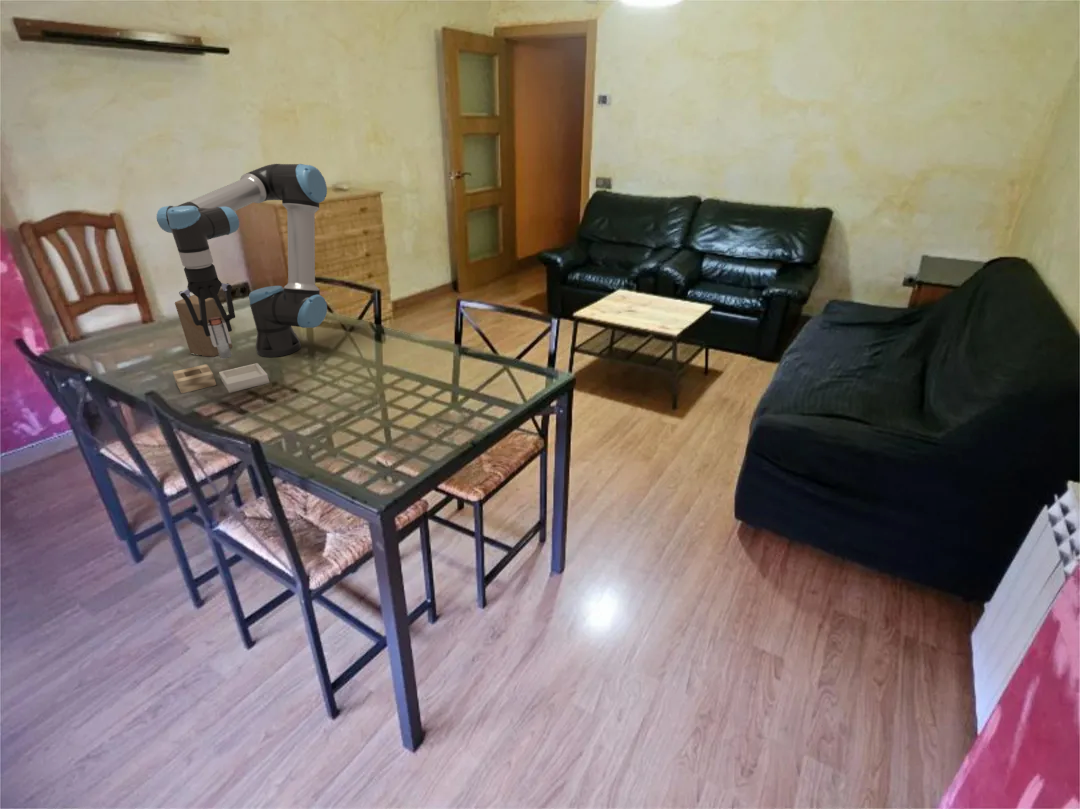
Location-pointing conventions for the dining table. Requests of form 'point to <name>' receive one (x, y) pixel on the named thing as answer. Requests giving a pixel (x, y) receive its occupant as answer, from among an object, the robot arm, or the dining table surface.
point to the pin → (220, 337)
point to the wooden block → (195, 333)
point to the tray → (243, 377)
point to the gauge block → (194, 378)
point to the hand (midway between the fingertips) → (222, 343)
